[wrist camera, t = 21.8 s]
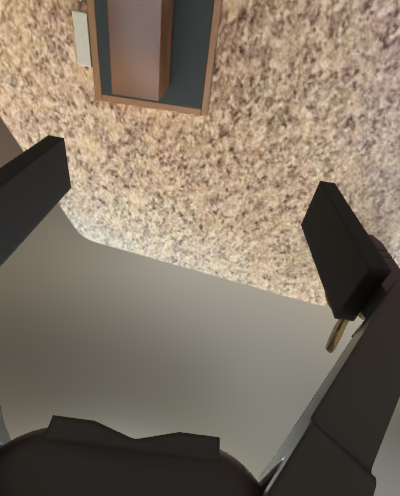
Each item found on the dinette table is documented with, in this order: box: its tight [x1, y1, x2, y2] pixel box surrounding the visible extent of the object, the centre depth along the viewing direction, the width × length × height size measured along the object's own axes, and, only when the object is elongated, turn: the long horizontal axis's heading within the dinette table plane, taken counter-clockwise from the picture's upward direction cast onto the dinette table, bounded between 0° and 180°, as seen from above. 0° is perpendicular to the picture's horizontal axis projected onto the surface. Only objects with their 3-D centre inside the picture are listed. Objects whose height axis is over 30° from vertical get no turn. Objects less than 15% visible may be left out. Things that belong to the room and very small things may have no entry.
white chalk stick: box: [72, 11, 93, 67], centre depth 33 cm, size 5×1×2 cm
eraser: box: [107, 0, 175, 101], centre depth 28 cm, size 12×5×8 cm, turn 173°
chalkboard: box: [87, 0, 222, 117], centre depth 32 cm, size 18×14×1 cm
